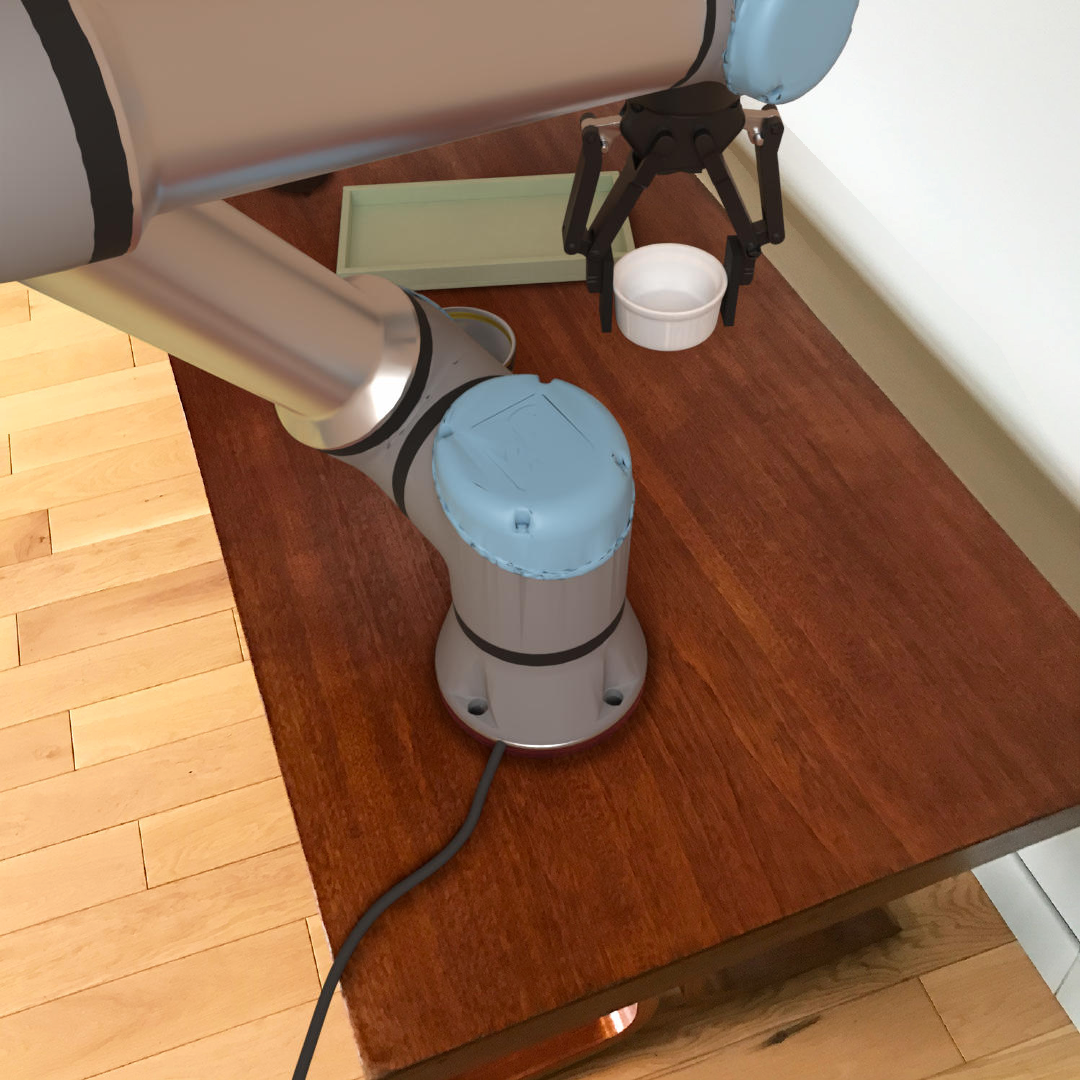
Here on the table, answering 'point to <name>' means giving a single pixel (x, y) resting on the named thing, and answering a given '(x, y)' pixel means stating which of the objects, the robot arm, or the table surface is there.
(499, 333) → the ceramic cup
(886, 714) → the table surface
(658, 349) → the ramekin
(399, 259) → the tray
